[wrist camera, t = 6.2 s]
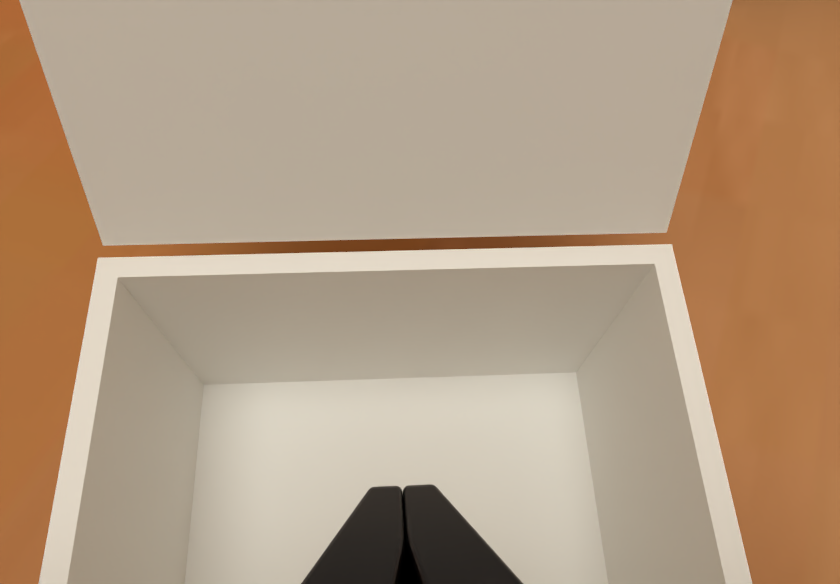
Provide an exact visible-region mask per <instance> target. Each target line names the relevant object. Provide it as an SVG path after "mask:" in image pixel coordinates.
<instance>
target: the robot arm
mask: <svg viewBox="0 0 840 584" xmlns="http://www.w3.org/2000/svg"><path fill="white" fill-rule="evenodd" d="M301 584H523V583H522V582H521V580H520V579H519V578H518V577H517V576H516V575H515V574H514V573H513V572H512V570H511V569H510V568H509V567H508V566H507V565H506V564H505V563H504V561H503V560H502V559H501V558H500V557H499V556H498V555H497V554H496V553H495V551H494V550H493V549H492V548H491V547H490V546H489V545H488V544H487V543H486V541H485V540H484V539H483V538H482V537H481V536H480V535H479V534H478V533H477V531H476V530H475V529H474V528H473V527H472V526H471V525H470V524H469V523H468V521H467V520H466V519H465V518H464V517H463V516H462V515H461V514H460V513H459V511H458V510H457V509H456V508H455V507H454V506H453V505H452V504H451V502H450V501H449V500H448V499H447V498H446V497H445V496H444V495H443V494H442V492H441V491H440V490H439V489H438V488H437V487H436V486H434V485H432V484H426V485H408V486H405V487H404V489H403V493H402V489H401V488H400V487H399V486H378V487H371V488H370V489H369V490H368V491H367V492H366V494H365V495H364V497H363V498H362V499H361V501H360V502H359V504H358V505H357V506H356V508H355V509H354V511H353V512H352V513H351V515H350V516H349V518H348V519H347V520H346V522H345V523H344V525H343V526H342V527H341V529H340V530H339V531H338V533H337V534H336V536H335V537H334V538H333V540H332V541H331V543H330V544H329V545H328V547H327V548H326V550H325V551H324V552H323V554H322V555H321V557H320V558H319V559H318V561H317V562H316V564H315V565H314V566H313V568H312V569H311V570H310V572H309V573H308V575H307V576H306V577H305V579H304V580H303V582H302V583H301Z"/></svg>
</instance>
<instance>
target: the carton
mask: <svg viewBox="0 0 840 584" xmlns="http://www.w3.org/2000/svg"><path fill="white" fill-rule="evenodd" d="M426 484H432V485H434V486H436V487H437V488H438V489H439V490H440V491H441V492H442V494H443V495H444V496H445V497H446V498H447V499H448V500H449V501H450V502H451V504H452V505H453V506H454V507H455V508H456V509H457V510H458V511H459V513H460V514H461V515H462V516H463V517H464V518H465V519H466V520H467V521H468V523H469V524H470V525H471V526H472V527H473V528H474V529H475V530H476V531H477V533H478V534H479V535H480V536H481V537H482V538H483V539H484V540H485V541H486V543H487V544H488V545H489V546H490V547H491V548H492V549H493V550H494V551H495V553H496V554H497V555H498V556H499V557H500V558H501V559H502V560H503V561H504V563H505V564H506V565H507V566H508V567H509V568H510V569H511V570H512V572H513V573H514V574H515V575H516V576H517V577H518V578H519V579H520V580H521V582H522V583H523V584H752V580H751V576H750V572H749V567H748V563H747V559H746V555H745V550H744V546H743V542H742V538H741V534H740V529H739V525H738V521H737V517H736V513H735V508H734V504H733V500H732V496H731V492H730V487H729V483H728V479H727V475H726V471H725V466H724V462H723V458H722V454H721V450H720V445H719V441H718V437H717V433H716V428H715V424H714V420H713V416H712V412H711V407H710V403H709V399H708V395H707V391H706V386H705V382H704V378H703V374H702V370H701V365H700V361H699V357H698V353H697V349H696V344H695V340H694V336H693V332H692V327H691V323H690V319H689V315H688V311H687V306H686V302H685V298H684V294H683V290H682V285H681V281H680V277H679V273H678V269H677V264H676V260H675V256H674V252H673V248H672V244H660V245H618V246H576V247H534V248H492V249H450V250H407V251H365V252H323V253H281V254H239V255H197V256H155V257H113V258H98V260H97V266H96V271H95V277H94V282H93V288H92V293H91V299H90V304H89V310H88V315H87V321H86V326H85V332H84V337H83V343H82V348H81V354H80V359H79V365H78V370H77V376H76V381H75V387H74V392H73V398H72V403H71V409H70V414H69V420H68V425H67V431H66V436H65V442H64V447H63V453H62V458H61V464H60V469H59V475H58V480H57V486H56V491H55V497H54V502H53V508H52V513H51V519H50V524H49V530H48V535H47V541H46V546H45V552H44V557H43V563H42V568H41V574H40V579H39V584H301V583H302V582H303V580H304V579H305V577H306V576H307V575H308V573H309V572H310V570H311V569H312V568H313V566H314V565H315V564H316V562H317V561H318V559H319V558H320V557H321V555H322V554H323V552H324V551H325V550H326V548H327V547H328V545H329V544H330V543H331V541H332V540H333V538H334V537H335V536H336V534H337V533H338V531H339V530H340V529H341V527H342V526H343V525H344V523H345V522H346V520H347V519H348V518H349V516H350V515H351V513H352V512H353V511H354V509H355V508H356V506H357V505H358V504H359V502H360V501H361V499H362V498H363V497H364V495H365V494H366V492H367V491H368V490H369V489H370V488H371V487H378V486H399V487H400V488H401V489H402V493H403V489H404V487H405V486H408V485H426Z"/></svg>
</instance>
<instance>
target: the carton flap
mask: <svg viewBox="0 0 840 584" xmlns="http://www.w3.org/2000/svg"><path fill="white" fill-rule="evenodd" d="M19 1H20V4H21V7H22V9H23V12H24V15H25V18H26V21H27V24H28V27H29V30H30V33H31V36H32V39H33V42H34V45H35V48H36V50H37V53H38V56H39V59H40V62H41V65H42V68H43V71H44V74H45V77H46V80H47V83H48V86H49V89H50V91H51V94H52V97H53V100H54V103H55V106H56V109H57V112H58V115H59V118H60V121H61V124H62V127H63V130H64V132H65V135H66V138H67V141H68V144H69V147H70V150H71V153H72V156H73V159H74V162H75V165H76V168H77V171H78V173H79V176H80V179H81V182H82V185H83V188H84V191H85V194H86V197H87V200H88V203H89V206H90V209H91V212H92V214H93V217H94V220H95V223H96V226H97V229H98V232H99V235H100V238H101V241H102V244H103V246H104V245H148V244H192V243H236V242H279V241H323V240H367V239H410V238H454V237H498V236H542V235H585V234H629V233H667V229H668V226H669V222H670V219H671V215H672V211H673V208H674V204H675V201H676V197H677V194H678V190H679V187H680V183H681V180H682V176H683V173H684V169H685V166H686V162H687V159H688V155H689V152H690V148H691V145H692V141H693V138H694V134H695V131H696V127H697V124H698V120H699V116H700V113H701V109H702V106H703V102H704V99H705V95H706V92H707V88H708V85H709V81H710V78H711V74H712V71H713V67H714V64H715V60H716V57H717V53H718V50H719V46H720V43H721V39H722V36H723V32H724V29H725V25H726V22H727V18H728V14H729V11H730V7H731V4H732V0H19Z"/></svg>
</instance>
